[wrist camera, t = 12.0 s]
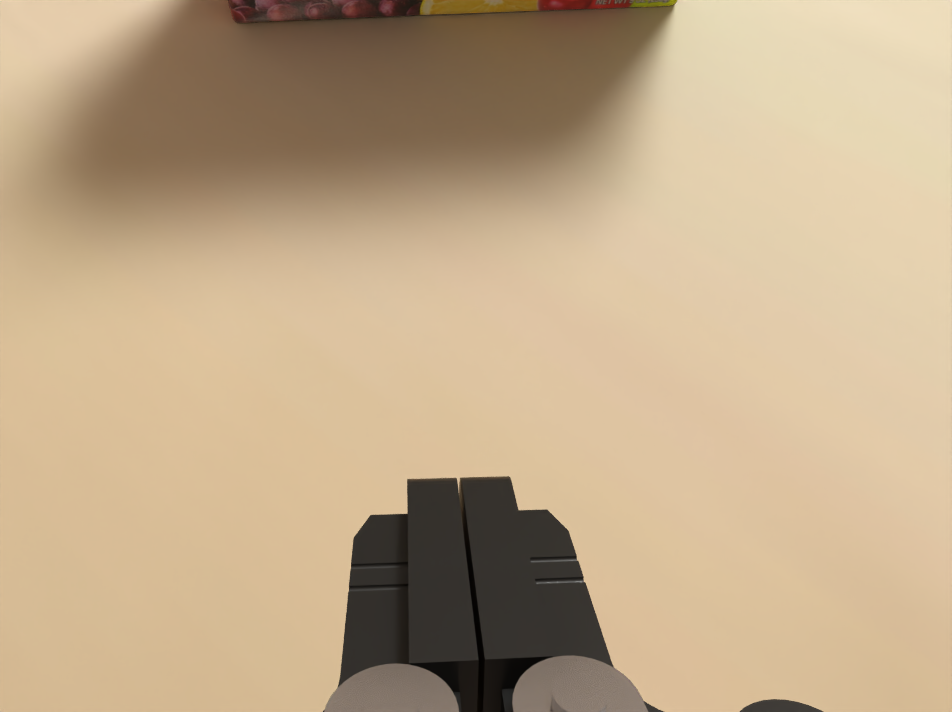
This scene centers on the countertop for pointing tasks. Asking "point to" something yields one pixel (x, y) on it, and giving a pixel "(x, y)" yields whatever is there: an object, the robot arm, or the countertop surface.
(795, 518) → the countertop surface
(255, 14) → the snack box
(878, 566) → the countertop surface
